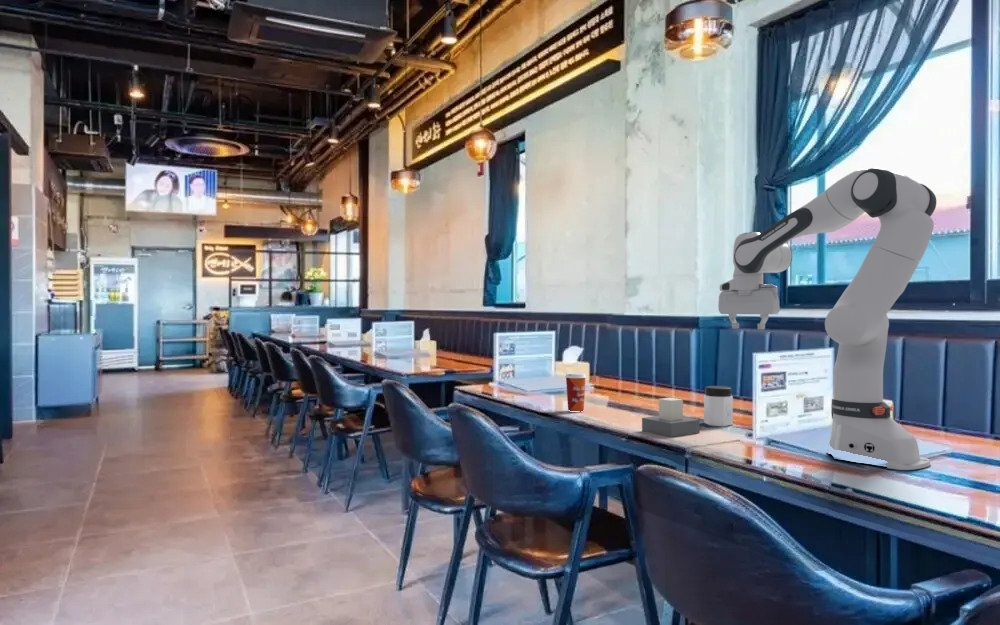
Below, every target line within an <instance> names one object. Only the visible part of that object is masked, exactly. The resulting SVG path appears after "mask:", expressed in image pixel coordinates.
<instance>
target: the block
mask: <svg viewBox="0 0 1000 625" xmlns="http://www.w3.org/2000/svg"><path fill="white" fill-rule="evenodd" d="M683 413H684V399H683V398H682V399H681V398H676V397H664V398H658V416H659V419H664V420H670V421H673V420H681V419H683V417H684V414H683Z"/></svg>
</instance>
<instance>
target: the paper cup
mask: <svg viewBox="0 0 1000 625" xmlns="http://www.w3.org/2000/svg"><path fill="white" fill-rule="evenodd" d="M565 378H566V380H565V382H566V397H567V398H566V399H567V411H568V410H570V411H583V410H584V407H585V395H586V392H585V391H586V378H587V375H586V373H584V372H567V373H566V375H565ZM583 412H584V411H583Z"/></svg>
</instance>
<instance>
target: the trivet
mask: <svg viewBox="0 0 1000 625" xmlns="http://www.w3.org/2000/svg"><path fill="white" fill-rule="evenodd" d="M700 422H701V421H700V419H697V418H692V417H685V416H683V419H681V420H673V421H670V420H664V419H659V415H655V416H646V417H642V418H641V431H642V432H646V433H651V434H655V435H659V436H660V435H661V436H664V437H669V438H676V437H682V436H687V435H689V436H690V435H695V434H700V429H701V428H700V427H701V426H700V424H701V423H700Z"/></svg>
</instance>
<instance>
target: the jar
mask: <svg viewBox="0 0 1000 625" xmlns="http://www.w3.org/2000/svg"><path fill="white" fill-rule="evenodd" d="M704 390H705V391H704V394H703V423H704V424H705V425H707V426H710V427H711V426H713V427H728V425H730V426H733V424H734V414H733V413H734V396H733V395H732V391H733V390H732V387H731V386H726V385H708V386H705V387H704Z"/></svg>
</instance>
